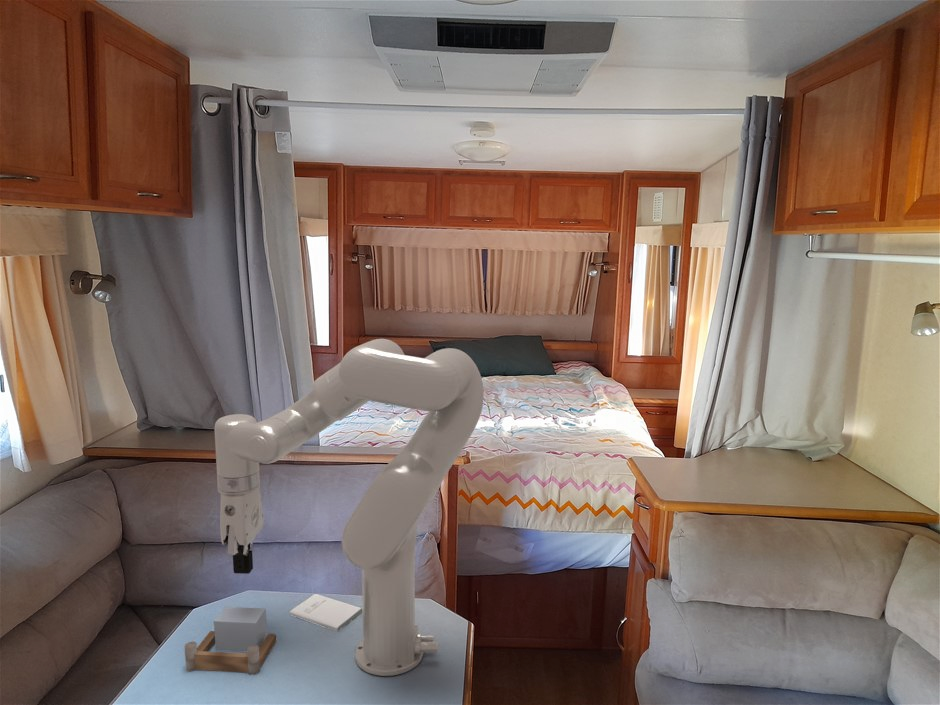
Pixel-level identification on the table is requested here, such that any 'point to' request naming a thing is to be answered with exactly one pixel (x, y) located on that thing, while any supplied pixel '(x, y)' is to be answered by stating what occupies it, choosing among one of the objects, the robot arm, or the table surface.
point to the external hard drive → (326, 612)
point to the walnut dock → (226, 656)
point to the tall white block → (240, 628)
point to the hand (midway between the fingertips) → (243, 571)
